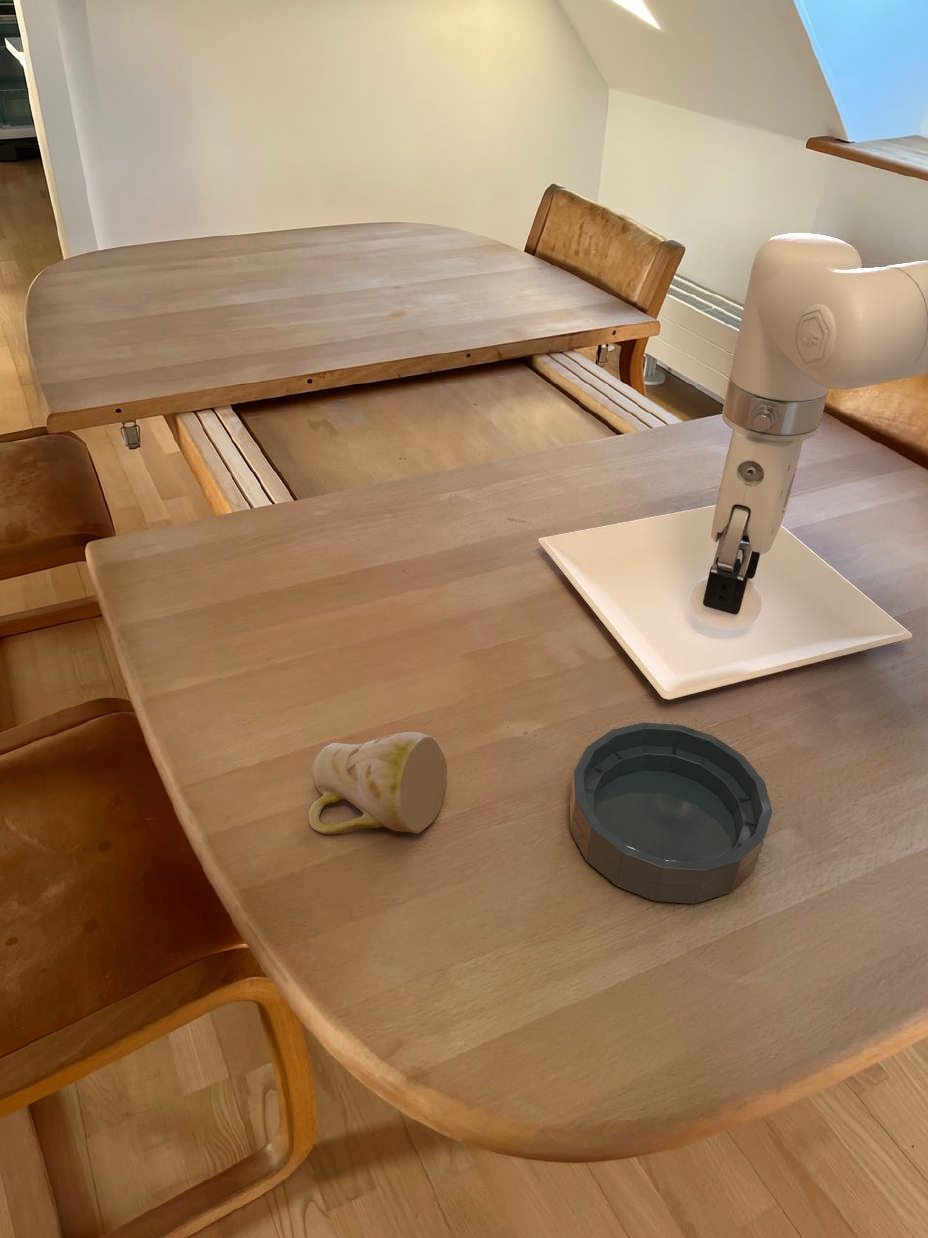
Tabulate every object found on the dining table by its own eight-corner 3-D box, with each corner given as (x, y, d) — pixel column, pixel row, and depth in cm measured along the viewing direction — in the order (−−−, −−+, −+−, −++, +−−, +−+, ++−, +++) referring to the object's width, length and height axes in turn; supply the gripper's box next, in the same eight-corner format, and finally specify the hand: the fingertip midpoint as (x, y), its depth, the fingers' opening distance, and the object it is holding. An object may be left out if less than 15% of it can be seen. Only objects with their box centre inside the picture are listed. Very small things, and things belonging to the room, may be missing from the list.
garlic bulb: (720, 645, 83) (737, 570, 78) (673, 608, 87) (687, 535, 83) (771, 624, 86) (792, 551, 81) (724, 589, 90) (740, 517, 85)
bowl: (775, 796, 72) (787, 760, 69) (733, 937, 62) (746, 900, 60) (605, 737, 76) (610, 701, 74) (541, 860, 67) (545, 823, 64)
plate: (746, 512, 106) (750, 496, 104) (908, 652, 86) (916, 634, 85) (535, 553, 98) (536, 536, 97) (661, 716, 79) (665, 698, 77)
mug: (331, 751, 75) (392, 672, 69) (418, 838, 73) (487, 764, 68) (273, 796, 69) (335, 712, 63) (367, 891, 67) (438, 814, 62)
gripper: (802, 460, 66) (749, 656, 77) (839, 375, 79) (788, 555, 90) (698, 437, 69) (661, 630, 80) (749, 358, 81) (711, 535, 92)
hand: (729, 589), depth 85 cm, fingers closed on garlic bulb, 5 cm apart
